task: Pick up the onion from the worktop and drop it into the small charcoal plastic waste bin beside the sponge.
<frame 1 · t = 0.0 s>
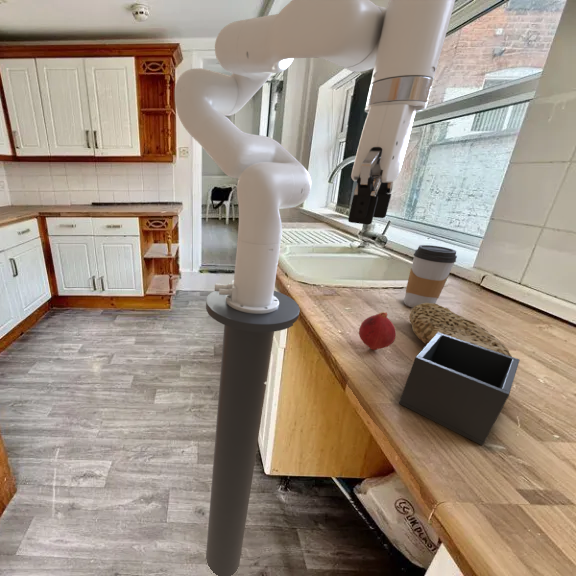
hand: (367, 219, 50), 24 cm above the countertop, tool pointing down, fingers open, 9 cm apart
coffee cup: (417, 306, 79), on the countertop
waste bin: (447, 404, 45), on the countertop
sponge: (447, 350, 59), on the countertop
onion: (371, 350, 59), on the countertop
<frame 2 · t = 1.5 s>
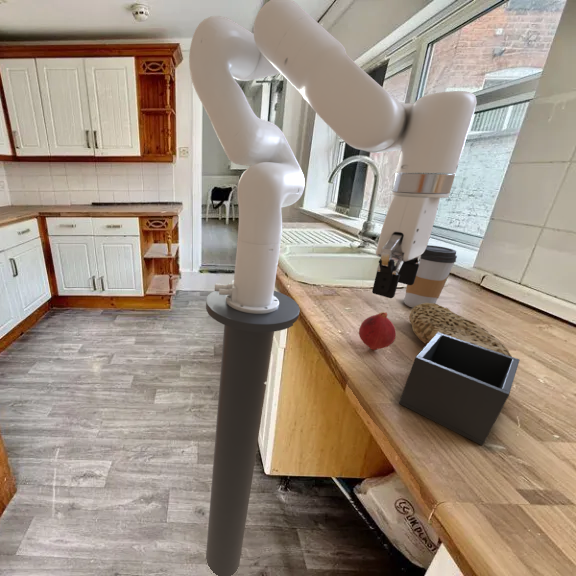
hand: (393, 288, 54), 13 cm above the countertop, tool pointing down, fingers open, 9 cm apart
nothing on the countertop moved.
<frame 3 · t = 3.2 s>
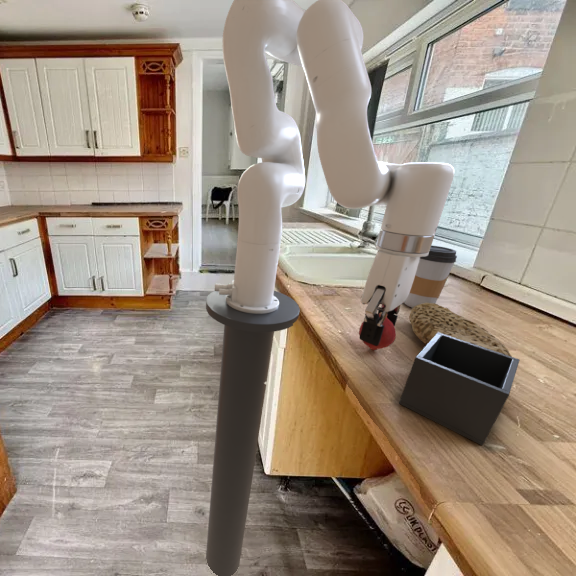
hand: (376, 335, 57), 3 cm above the countertop, tool pointing down, fingers closed on onion, 5 cm apart
onion: (371, 350, 59), on the countertop, touching gripper
everything else where it was.
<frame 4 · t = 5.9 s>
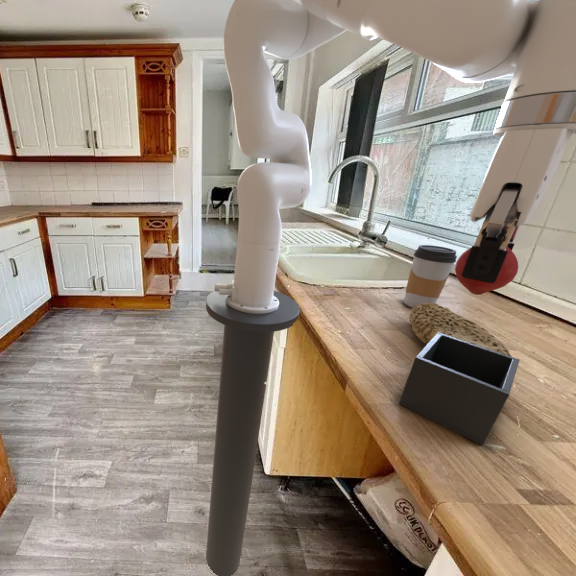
hand: (482, 273, 40), 20 cm above the countertop, tool pointing down, fingers closed on onion, 5 cm apart
onion: (473, 295, 41), point 17 cm above the countertop, touching gripper
everything else where it was.
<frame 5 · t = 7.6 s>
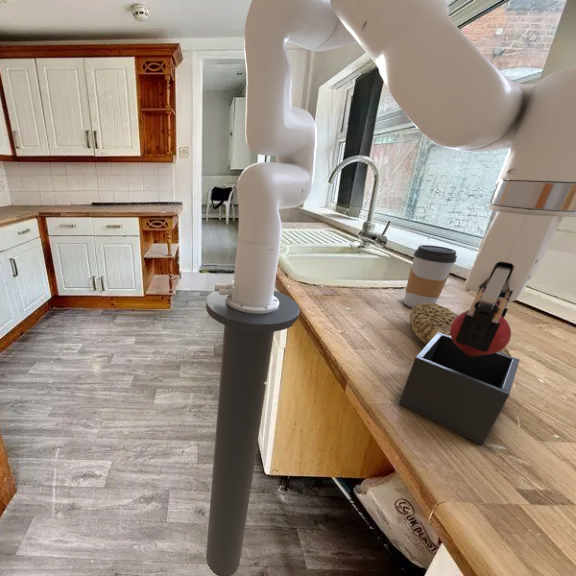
hand: (476, 336, 41), 11 cm above the countertop, tool pointing down, fingers closed on onion, 5 cm apart
onion: (467, 356, 42), point 8 cm above the countertop, touching gripper
everything else where it was.
when the fingers open (9 cm above the countertop, at t = 8.6 s): onion drops 5 cm, resting on waste bin.
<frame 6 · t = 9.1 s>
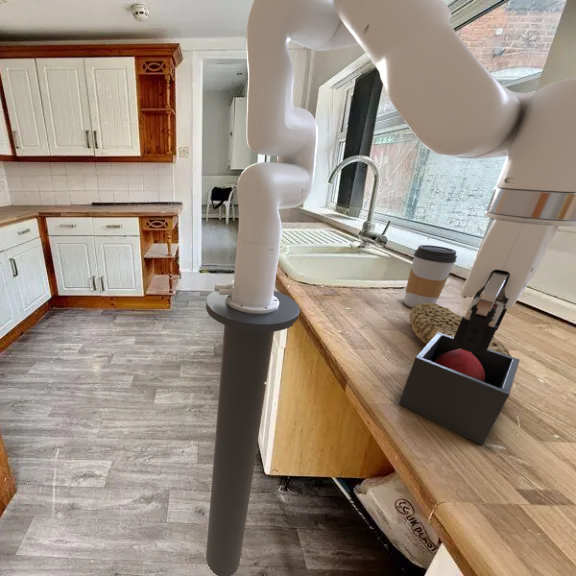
hand: (474, 337, 41), 11 cm above the countertop, tool pointing down, fingers open, 9 cm apart
onion: (448, 397, 45), point 1 cm above the countertop, touching waste bin
everything else where it was.
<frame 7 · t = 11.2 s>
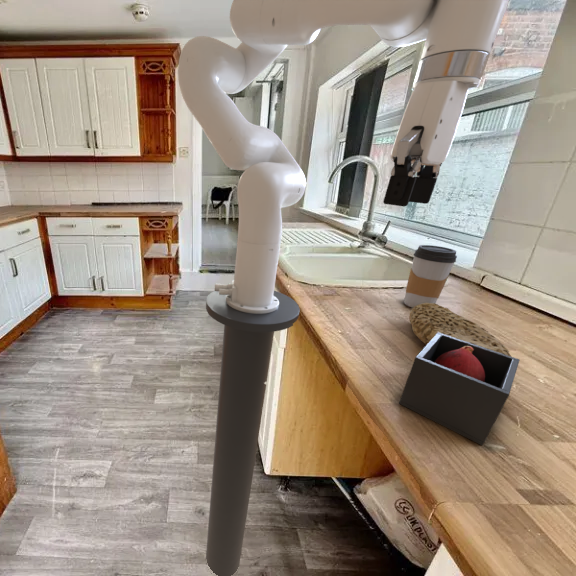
hand: (406, 203, 49), 27 cm above the countertop, tool pointing down, fingers open, 9 cm apart
nothing on the countertop moved.
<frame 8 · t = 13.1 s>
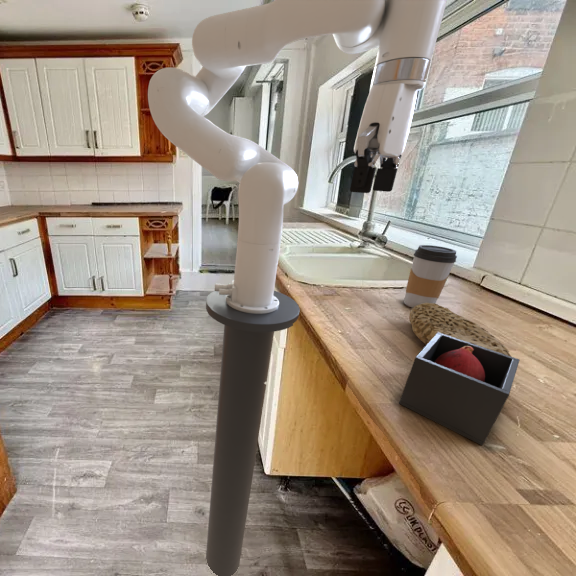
hand: (371, 191, 55), 28 cm above the countertop, tool pointing down, fingers open, 9 cm apart
nothing on the countertop moved.
at the end: onion 0.2 cm from the waste bin (horizontally); onion point 1.0 cm above the countertop; the gripper is holding nothing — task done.
